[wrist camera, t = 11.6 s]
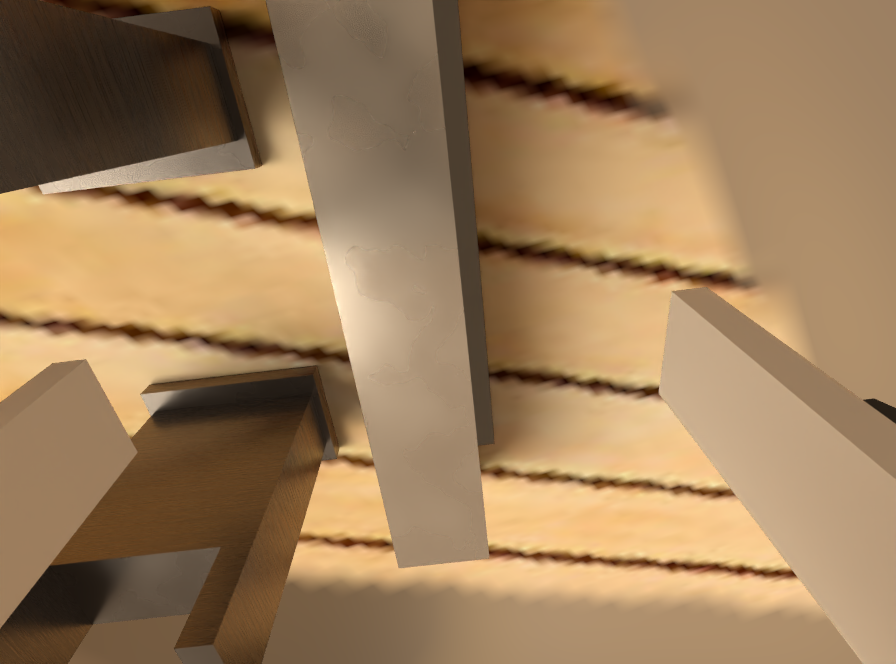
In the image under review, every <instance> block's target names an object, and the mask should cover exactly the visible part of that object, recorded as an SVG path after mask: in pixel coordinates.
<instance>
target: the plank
mask: <svg viewBox="0 0 896 664" xmlns="http://www.w3.org/2000/svg"><path fill="white" fill-rule="evenodd" d="M432 3H433V13H434V23H435V32H436V42H437V52H438V62H439V72H440V81H441V91H442V101H443V111H444V120H445V130H446V140H447V150H448V160H449V169H450V179H451V189H452V199H453V208H454V218H455V228H456V238H457V248H458V257H459V267H460V277H461V287H462V296H463V306H464V316H465V326H466V335H467V345H468V355H469V365H470V375H471V384H472V394H473V404H474V414H475V423H476V433H477V443H478V445H487V444H494V433H493V421H492V409H491V397H490V385H489V373H488V361H487V349H486V337H485V324H484V312H483V300H482V288H481V276H480V264H479V252H478V240H477V228H476V215H475V203H474V191H473V179H472V167H471V155H470V143H469V131H468V118H467V106H466V94H465V82H464V70H463V58H462V46H461V34H460V22H459V9H458V0H432Z"/></svg>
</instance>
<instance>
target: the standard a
mask: <svg viewBox="0 0 896 664" xmlns="http://www.w3.org/2000/svg"><path fill="white" fill-rule="evenodd" d="M260 166H262V164H261V160H260V156H259V153H258V149H257V145H256V142H255V138H254V135H253V131H252V127H251V124H250V120H249V116H248V113H247V109H246V105H245V102H244V98H243V94H242V91H241V87H240V83H239V80H238V76H237V72H236V69H235V65H234V61H233V58H232V54H231V51H230V47H229V43H228V40H227V36H226V32H225V29H224V25H223V21H222V18H221V14H220V11H219V10H217V9H215V8H212V7H210V6H209V7H202V8H194V9H186V10H178V11H170V12H162V13H154V14H146V15H138V16H130V17H122V18H114V19H111V18H107V17H103V16H99V15H95V14H91V13H87V12H83V11H79V10H75V9H71V8H67V7H63V6H59V5H55V4H52V3H48V2H44V1H40V0H0V194H1V193H6V192H10V191H15V190H19V189H24V188H28V187H33V186H37V185H39V187H40V189H41V191H42V193H43V194H49V193H58V192H66V191H74V190H82V189H91V188H99V187H107V186H115V185H124V184H132V183H140V182H149V181H157V180H165V179H173V178H182V177H190V176H198V175H206V174H215V173H223V172H231V171H239V170H248V169H255V168H258V167H260Z"/></svg>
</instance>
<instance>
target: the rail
mask: <svg viewBox="0 0 896 664" xmlns="http://www.w3.org/2000/svg"><path fill="white" fill-rule="evenodd" d="M266 4H267V8H268V13H269V17H270V21H271V26H272V30H273V34H274V38H275V43H276V47H277V51H278V55H279V60H280V64H281V68H282V72H283V77H284V81H285V85H286V89H287V94H288V98H289V102H290V107H291V111H292V115H293V119H294V124H295V128H296V132H297V136H298V141H299V145H300V149H301V153H302V158H303V162H304V166H305V171H306V175H307V179H308V183H309V188H310V192H311V196H312V200H313V205H314V209H315V213H316V217H317V222H318V226H319V230H320V234H321V239H322V243H323V247H324V252H325V256H326V260H327V264H328V269H329V273H330V277H331V281H332V286H333V290H334V294H335V298H336V303H337V307H338V311H339V316H340V320H341V324H342V328H343V333H344V337H345V341H346V345H347V350H348V354H349V358H350V362H351V367H352V371H353V375H354V379H355V384H356V388H357V392H358V397H359V401H360V405H361V409H362V414H363V418H364V422H365V426H366V431H367V435H368V439H369V443H370V448H371V452H372V456H373V461H374V465H375V469H376V473H377V478H378V482H379V486H380V490H381V495H382V499H383V503H384V507H385V512H386V516H387V520H388V524H389V529H390V533H391V537H392V542H393V546H394V550H395V554H396V559H397V563H398V567H399V568H406V567H415V566H424V565H434V564H443V563H452V562H462V561H471V560H480V559H489V551H488V541H487V531H486V521H485V511H484V502H483V492H482V482H481V472H480V463H479V453H478V443H477V433H476V423H475V414H474V404H473V394H472V384H471V375H470V365H469V355H468V345H467V335H466V326H465V316H464V306H463V296H462V287H461V277H460V267H459V257H458V248H457V238H456V228H455V218H454V208H453V199H452V189H451V179H450V169H449V160H448V150H447V140H446V130H445V120H444V111H443V101H442V91H441V81H440V72H439V62H438V52H437V42H436V32H435V23H434V13H433V3H432V0H266Z"/></svg>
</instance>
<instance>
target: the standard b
mask: <svg viewBox="0 0 896 664" xmlns="http://www.w3.org/2000/svg"><path fill="white" fill-rule="evenodd" d="M140 395H141V397H142V399H143V401H144V403H145V405H146V407H147V409H148V411H149V413H150V415H151V417H150V418H149V419H148V420H147V422H146V423H145V424H144V425H143V426H142V427H141V428H140V430H139V431H138V432H137V433H136V434H135V435H134V436H133V438H132V439H131V441H132V443H133V445H134V447H135V448H136V450H137V452H138V453H137V454H136V455H135V457H134V458H133V459H132V460H131V462H130V463H129V464H128V465H127V467H126V468H125V469H124V471H123V472H122V473H121V474H120V476H119V477H118V478H117V480H116V481H115V482H114V483H113V485H112V486H111V487H110V489H109V490H108V491H107V492H106V494H105V495H104V496H103V497H102V499H101V500H100V501H99V503H98V504H97V505H96V506H95V508H94V509H93V510H92V512H91V513H90V514H89V515H88V517H87V518H86V519H85V521H84V522H83V523H82V524H81V526H80V527H79V528H78V529H77V531H76V532H75V533H74V535H73V536H72V537H71V538H70V540H69V541H68V542H67V544H66V545H65V546H64V547H63V549H62V550H61V551H60V553H59V554H58V555H57V556H56V558H55V559H54V560H53V561H52V563H51V564H50V565H49V567H48V568H47V569H46V570H45V572H44V573H43V574H42V576H41V577H40V578H39V579H38V581H37V582H36V583H35V585H34V586H33V587H32V588H31V590H30V591H29V592H28V593H27V595H26V596H25V597H24V599H23V600H22V601H21V602H20V604H19V605H18V606H17V608H16V609H15V610H14V611H13V613H12V614H11V615H10V617H9V618H8V619H7V620H6V622H5V623H4V624H3V626H2V627H1V628H0V664H68V662H69V661H70V659H71V658H72V656H73V655H74V653H75V652H76V650H77V648H78V647H79V645H80V644H81V642H82V640H83V639H84V637H85V636H86V634H87V633H88V631H89V630H90V628H91V626H92V625H93V624H100V623H110V622H119V621H128V620H138V619H147V618H156V617H166V616H175V615H184V614H190V615H189V617H188V619H187V621H186V624H185V626H184V628H183V630H182V632H181V634H180V637H179V639H178V641H177V643H176V645H175V647H174V650H175V652H176V653H177V655H178V656H179V658H180V659H181V661H182V663H183V664H262V661H263V658H264V654H265V651H266V647H267V644H268V641H269V637H270V633H271V630H272V627H273V623H274V620H275V617H276V613H277V610H278V607H279V603H280V600H281V596H282V593H283V589H284V586H285V583H286V579H287V576H288V573H289V569H290V566H291V562H292V559H293V556H294V552H295V549H296V545H297V542H298V539H299V535H300V532H301V528H302V525H303V522H304V518H305V515H306V511H307V508H308V505H309V501H310V498H311V494H312V491H313V488H314V484H315V481H316V477H317V474H318V471H319V467H320V464H321V461H322V460H330V459H337V456H338V452H339V445H338V441H337V438H336V434H335V430H334V427H333V423H332V419H331V416H330V412H329V408H328V405H327V401H326V398H325V394H324V390H323V387H322V383H321V379H320V376H319V372H318V368H317V366H310V367H302V368H293V369H284V370H275V371H267V372H258V373H249V374H241V375H232V376H223V377H214V378H206V379H197V380H188V381H179V382H171V383H162V384H153V385H149V386H148V387H147V388H146V389H145V390H144V391H143V392H142V393H141V394H140Z"/></svg>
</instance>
